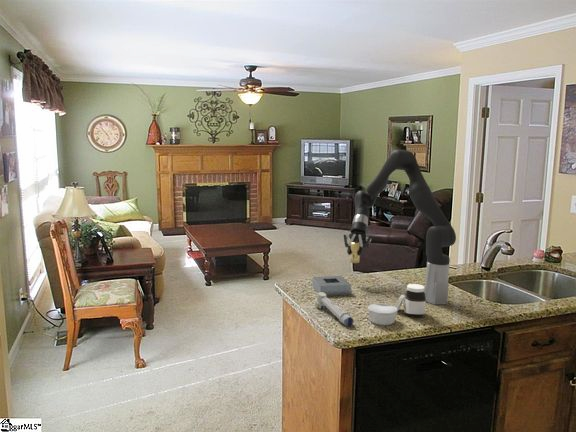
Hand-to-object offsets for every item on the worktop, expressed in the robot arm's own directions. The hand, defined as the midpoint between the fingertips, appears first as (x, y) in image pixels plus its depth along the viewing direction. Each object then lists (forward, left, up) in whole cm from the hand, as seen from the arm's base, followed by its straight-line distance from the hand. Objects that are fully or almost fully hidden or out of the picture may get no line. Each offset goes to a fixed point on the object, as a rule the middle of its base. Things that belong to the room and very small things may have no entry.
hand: (354, 254), depth 228 cm
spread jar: (-40, -10, -15) cm, 44 cm away
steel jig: (-7, +13, -15) cm, 21 cm away
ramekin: (-46, +4, -15) cm, 49 cm away
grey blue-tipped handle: (-37, +21, -15) cm, 46 cm away
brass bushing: (+2, -1, -4) cm, 5 cm away
